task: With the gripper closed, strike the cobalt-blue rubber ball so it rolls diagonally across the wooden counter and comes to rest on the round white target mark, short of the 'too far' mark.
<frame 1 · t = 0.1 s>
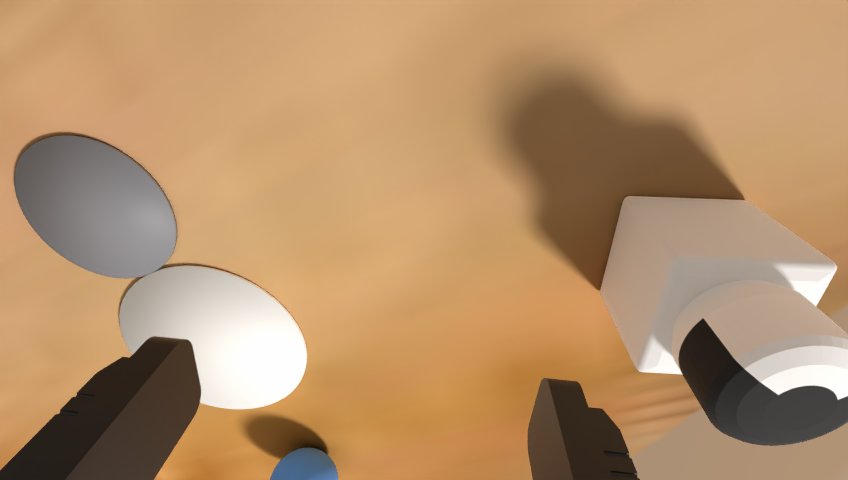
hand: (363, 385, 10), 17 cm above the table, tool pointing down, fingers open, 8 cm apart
target mark: (215, 343, 33), on the table
medicine bottle: (666, 247, 27), on the table
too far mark: (98, 211, 28), on the table
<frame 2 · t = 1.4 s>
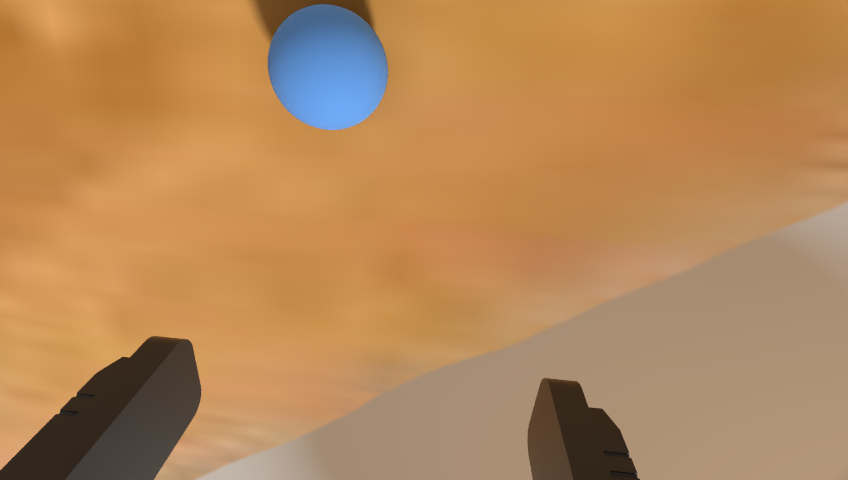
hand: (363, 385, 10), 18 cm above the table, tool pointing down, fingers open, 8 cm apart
ball: (329, 69, 21), on the table
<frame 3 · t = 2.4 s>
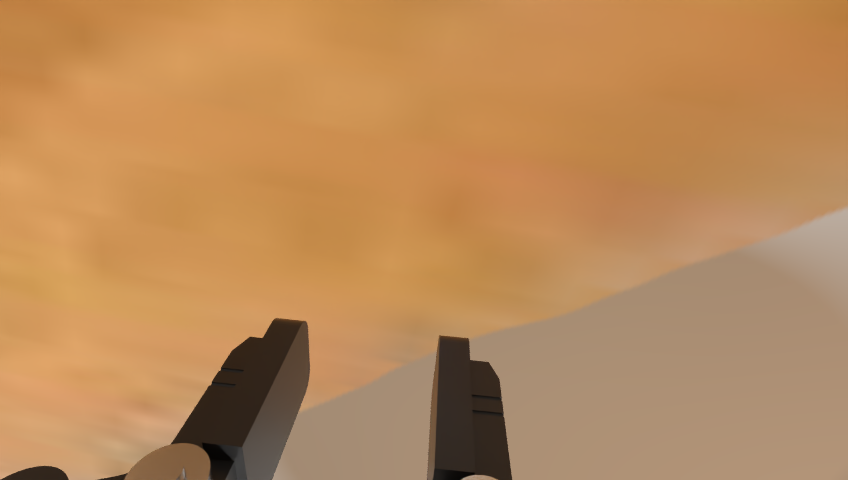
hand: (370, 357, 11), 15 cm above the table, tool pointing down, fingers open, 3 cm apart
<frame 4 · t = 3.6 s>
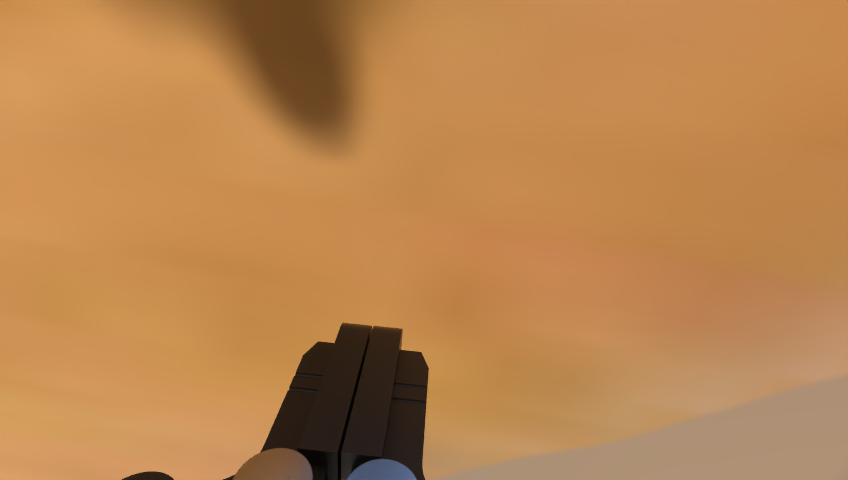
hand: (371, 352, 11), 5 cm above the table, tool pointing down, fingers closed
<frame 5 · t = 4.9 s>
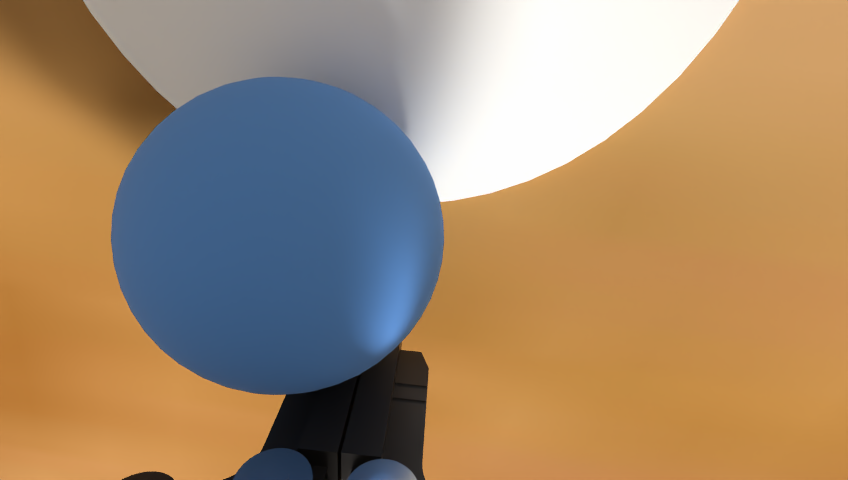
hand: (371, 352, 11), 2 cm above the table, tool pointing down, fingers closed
ball: (294, 236, 8), on the table
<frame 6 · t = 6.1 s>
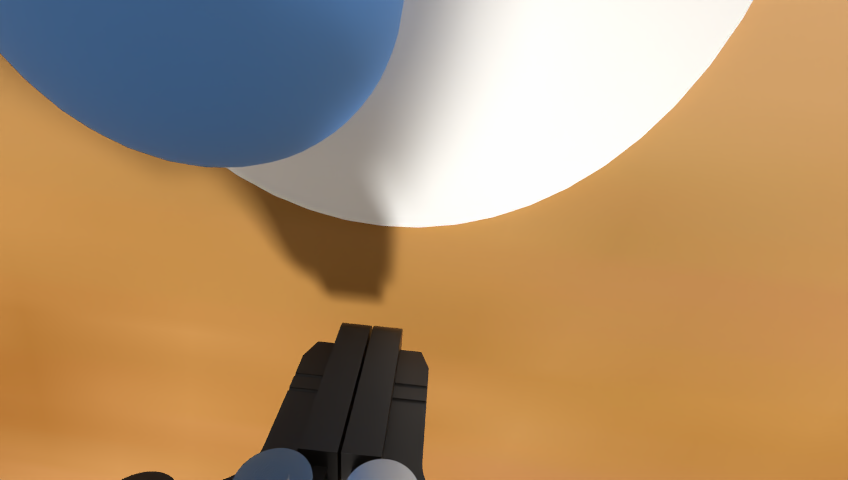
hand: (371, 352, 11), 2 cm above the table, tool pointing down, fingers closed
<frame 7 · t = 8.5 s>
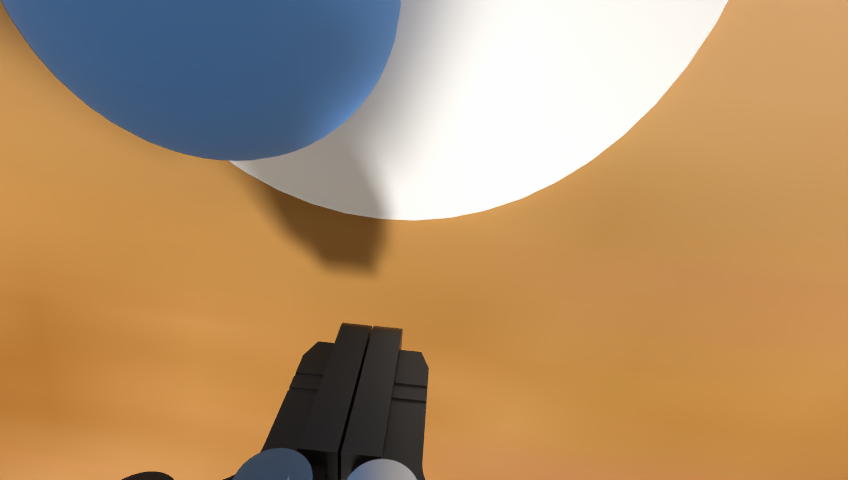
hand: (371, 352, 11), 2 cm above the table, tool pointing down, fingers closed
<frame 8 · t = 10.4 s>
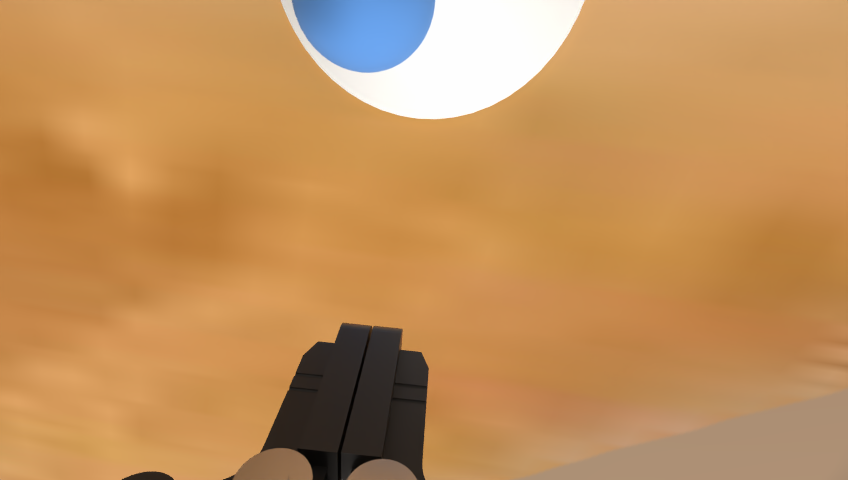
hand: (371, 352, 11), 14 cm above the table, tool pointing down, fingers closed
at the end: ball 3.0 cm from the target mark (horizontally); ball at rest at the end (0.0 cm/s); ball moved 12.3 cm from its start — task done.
